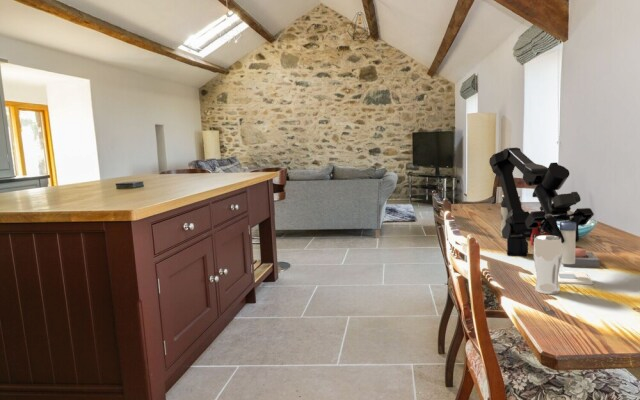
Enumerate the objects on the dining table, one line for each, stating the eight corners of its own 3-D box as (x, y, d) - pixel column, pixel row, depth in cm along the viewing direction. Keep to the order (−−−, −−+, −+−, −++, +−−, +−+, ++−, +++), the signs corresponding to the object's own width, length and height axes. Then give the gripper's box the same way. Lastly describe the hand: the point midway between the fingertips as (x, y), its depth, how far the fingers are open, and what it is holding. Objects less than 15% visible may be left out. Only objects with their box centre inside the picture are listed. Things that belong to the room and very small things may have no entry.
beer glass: (550, 296, 118) (550, 241, 116) (527, 289, 124) (527, 237, 122) (567, 291, 121) (567, 237, 119) (544, 285, 127) (544, 233, 125)
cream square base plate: (549, 282, 129) (549, 280, 129) (544, 272, 139) (544, 270, 139) (592, 284, 125) (592, 282, 125) (584, 273, 136) (584, 271, 136)
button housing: (563, 266, 144) (563, 258, 144) (558, 258, 153) (558, 251, 153) (599, 267, 141) (599, 259, 140) (591, 259, 150) (591, 252, 150)
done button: (571, 259, 146) (571, 251, 145) (569, 256, 150) (569, 247, 149) (587, 260, 144) (587, 251, 144) (584, 257, 148) (584, 248, 148)
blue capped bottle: (558, 263, 131) (558, 223, 130) (560, 259, 135) (561, 221, 133) (574, 264, 129) (575, 224, 127) (576, 261, 132) (577, 221, 131)
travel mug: (522, 235, 192) (522, 194, 190) (519, 239, 185) (519, 196, 183) (503, 234, 196) (502, 194, 194) (499, 238, 189) (499, 196, 187)
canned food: (531, 246, 172) (531, 218, 171) (529, 242, 179) (529, 215, 178) (553, 247, 169) (553, 219, 168) (551, 242, 176) (551, 215, 175)
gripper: (530, 185, 132) (550, 228, 123) (590, 181, 133) (615, 223, 124) (516, 207, 141) (535, 249, 132) (573, 203, 142) (596, 245, 133)
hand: (570, 241), depth 130 cm, fingers closed on blue capped bottle, 4 cm apart
